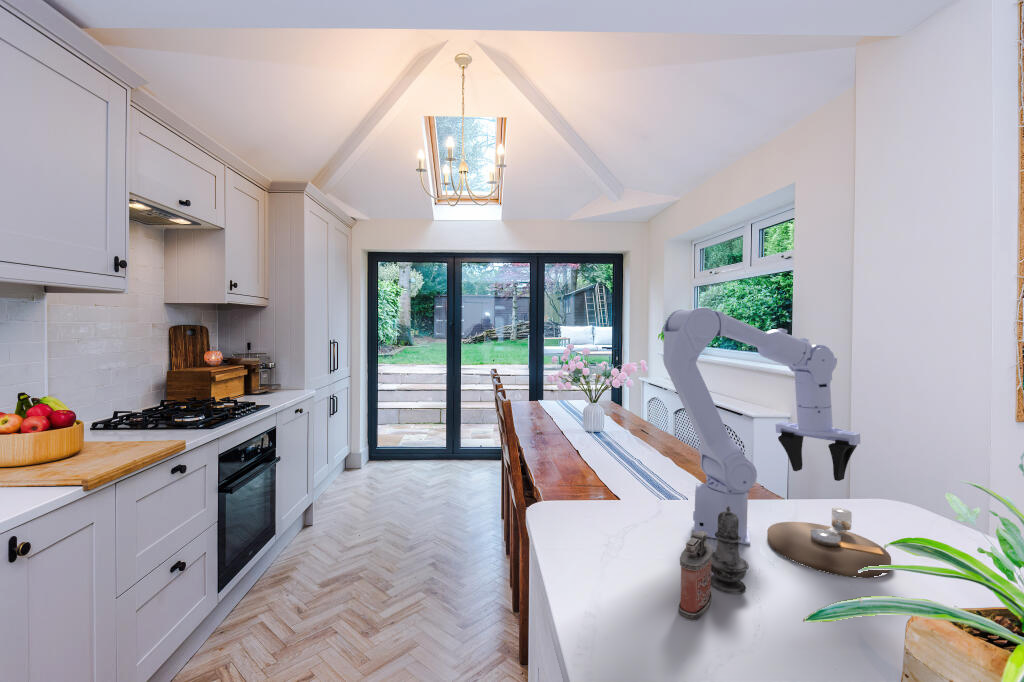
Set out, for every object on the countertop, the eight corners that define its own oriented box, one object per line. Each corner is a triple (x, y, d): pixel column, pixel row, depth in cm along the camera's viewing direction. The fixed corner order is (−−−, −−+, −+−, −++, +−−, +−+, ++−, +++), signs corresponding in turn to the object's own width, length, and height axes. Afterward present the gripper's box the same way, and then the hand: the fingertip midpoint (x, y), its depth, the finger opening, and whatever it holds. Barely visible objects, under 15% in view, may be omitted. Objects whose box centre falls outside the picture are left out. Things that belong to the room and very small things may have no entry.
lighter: (692, 588, 68) (694, 522, 68) (716, 597, 66) (718, 529, 66) (673, 613, 62) (674, 541, 62) (698, 624, 60) (700, 548, 60)
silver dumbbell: (834, 548, 78) (835, 526, 78) (806, 539, 82) (806, 517, 81) (858, 533, 84) (858, 512, 84) (830, 525, 88) (831, 505, 88)
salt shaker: (753, 597, 66) (755, 515, 66) (710, 592, 67) (712, 511, 67) (741, 576, 72) (743, 501, 72) (702, 572, 73) (703, 497, 73)
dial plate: (772, 562, 77) (772, 552, 77) (763, 522, 93) (763, 514, 93) (908, 588, 69) (908, 577, 69) (872, 540, 85) (872, 531, 85)
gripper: (867, 406, 85) (871, 479, 85) (787, 399, 97) (791, 462, 98) (847, 412, 81) (851, 488, 81) (768, 403, 94) (772, 469, 94)
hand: (817, 474), depth 89 cm, fingers open, 7 cm apart
